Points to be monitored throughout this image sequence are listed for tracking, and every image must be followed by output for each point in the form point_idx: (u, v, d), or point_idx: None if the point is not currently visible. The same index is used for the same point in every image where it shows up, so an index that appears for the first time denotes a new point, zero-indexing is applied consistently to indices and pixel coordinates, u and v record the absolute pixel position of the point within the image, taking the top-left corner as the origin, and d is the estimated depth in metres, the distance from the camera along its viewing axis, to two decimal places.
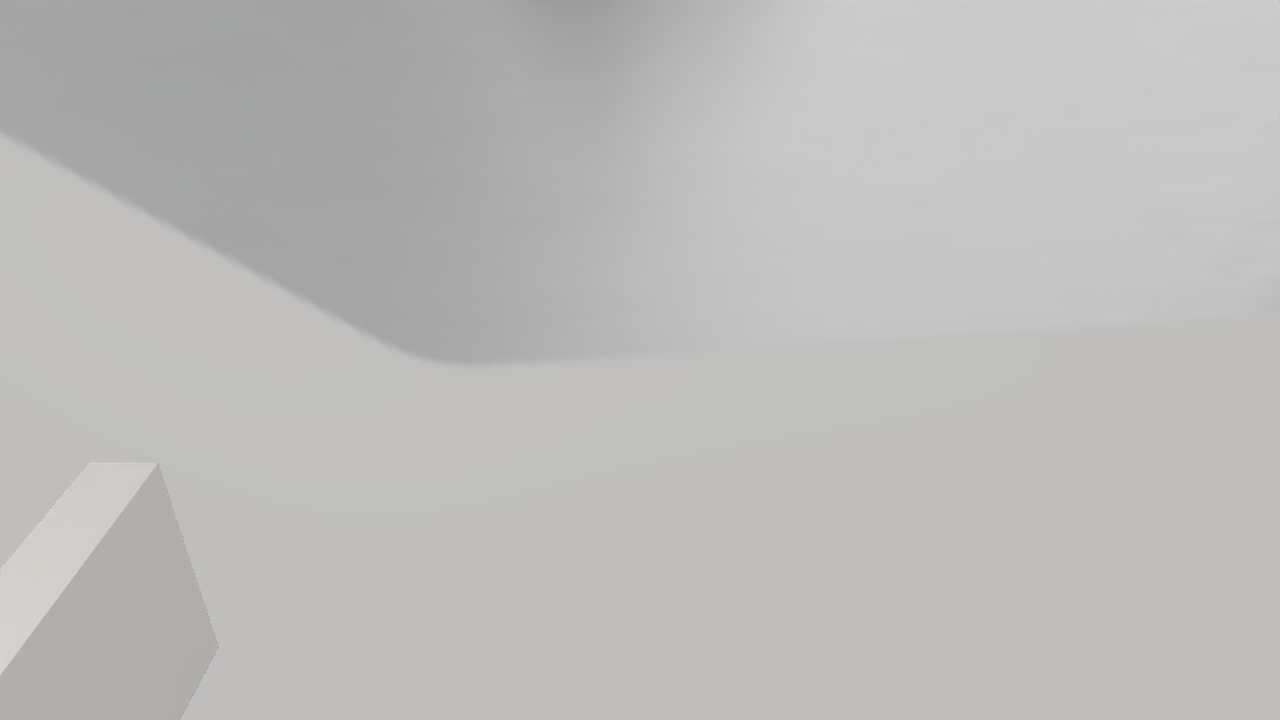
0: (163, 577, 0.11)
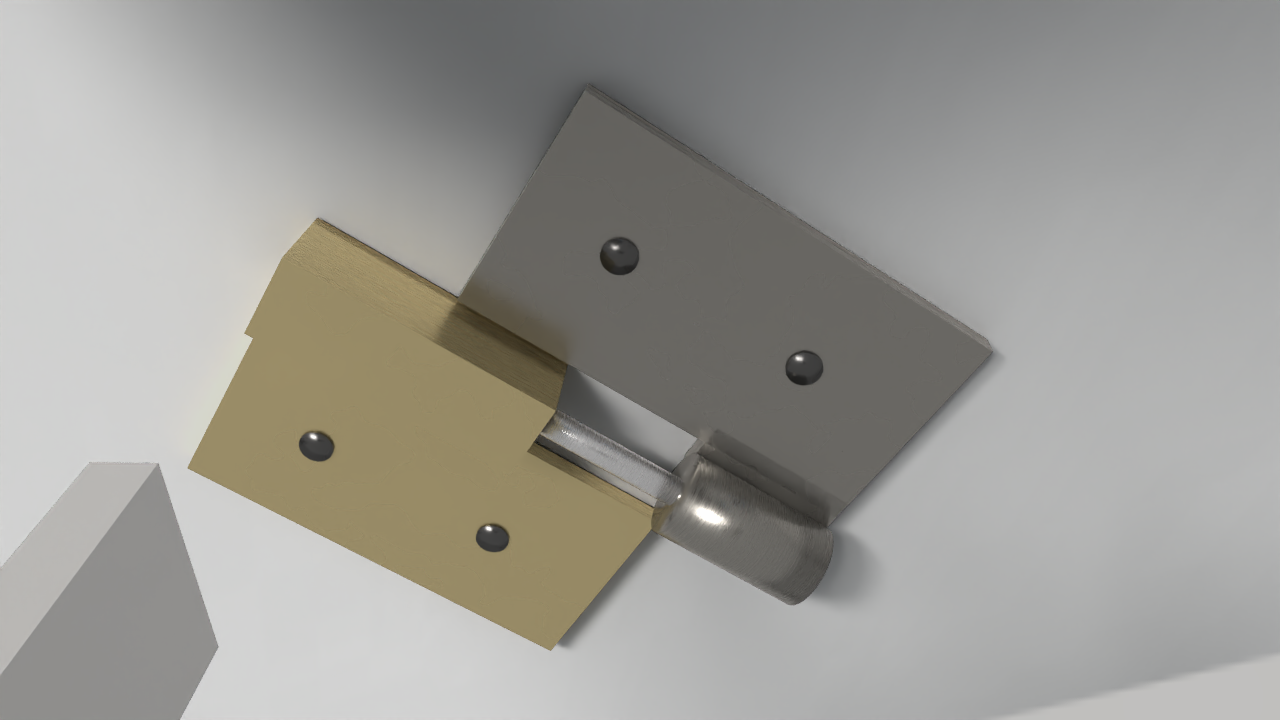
0: (163, 577, 0.11)
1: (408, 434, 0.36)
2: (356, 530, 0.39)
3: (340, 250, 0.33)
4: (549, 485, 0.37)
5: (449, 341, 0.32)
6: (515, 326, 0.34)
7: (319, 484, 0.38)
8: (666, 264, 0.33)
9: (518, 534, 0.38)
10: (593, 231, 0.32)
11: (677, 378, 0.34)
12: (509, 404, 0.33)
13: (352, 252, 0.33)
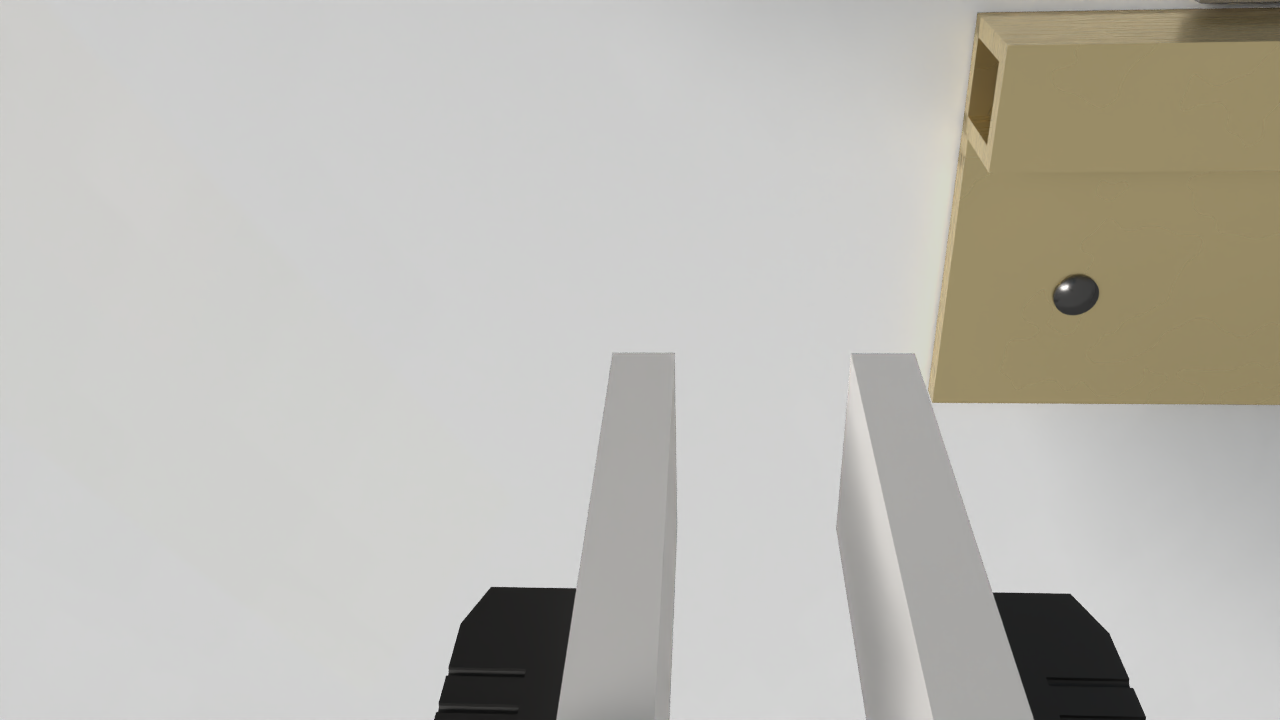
0: (674, 453, 0.13)
1: (1187, 218, 0.28)
2: (1156, 375, 0.30)
3: (1037, 22, 0.25)
4: None
5: (1247, 35, 0.24)
6: None
7: (1092, 341, 0.30)
8: None
9: None
10: None
11: None
12: None
13: (1048, 19, 0.25)
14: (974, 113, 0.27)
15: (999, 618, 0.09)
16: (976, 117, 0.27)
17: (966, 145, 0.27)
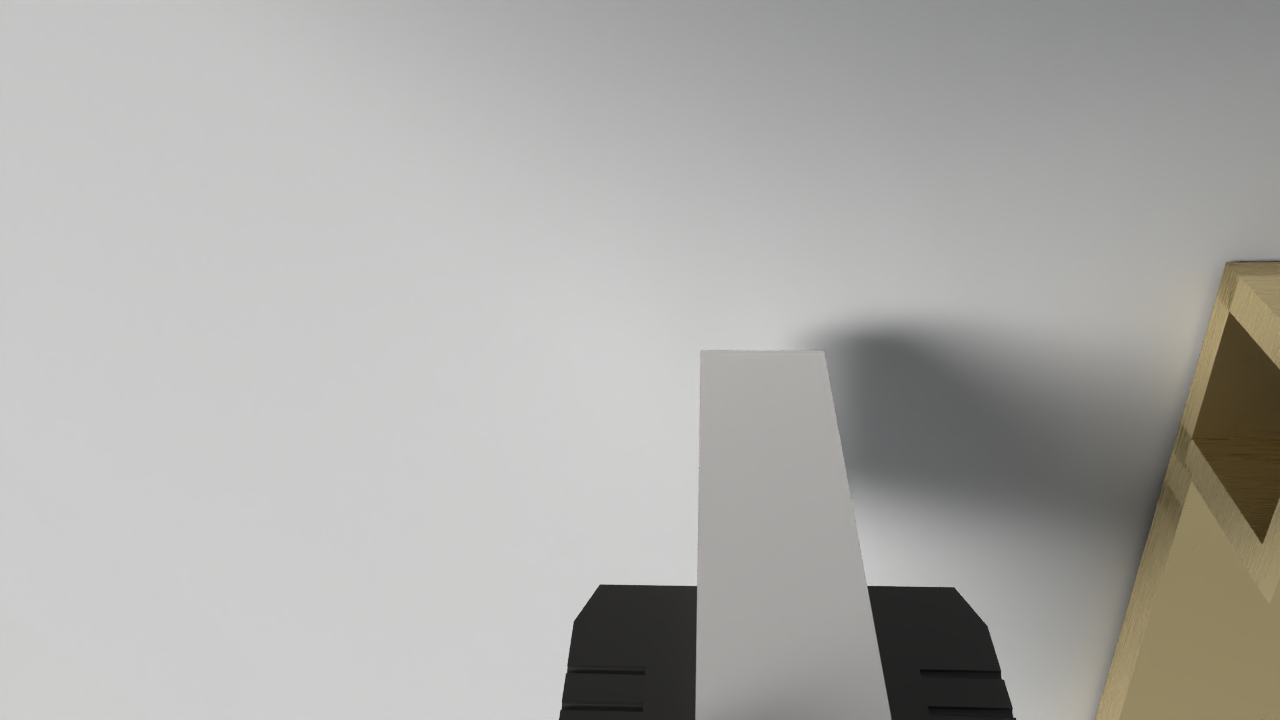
0: None
1: None
2: None
3: None
4: None
5: None
6: None
7: None
8: None
9: None
10: None
11: None
12: None
13: None
14: (1206, 436, 0.14)
15: (870, 610, 0.09)
16: (1209, 442, 0.15)
17: (1186, 488, 0.15)
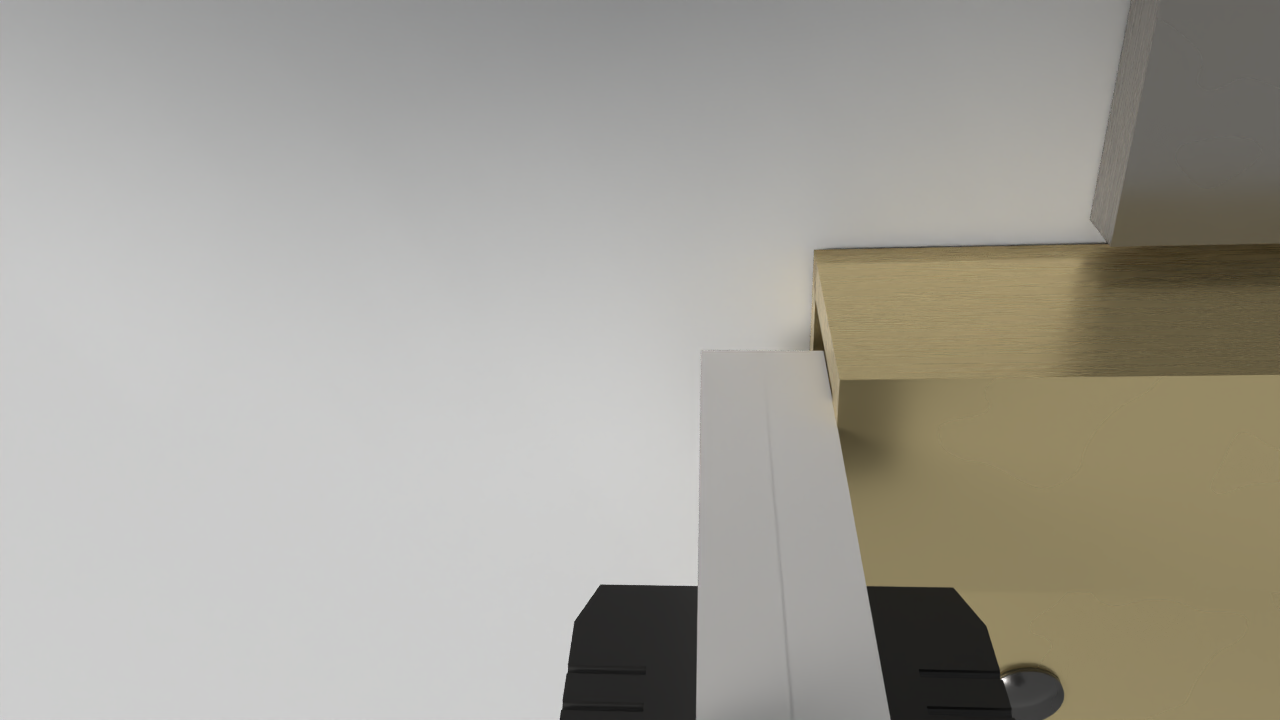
0: None
1: None
2: None
3: (920, 287, 0.13)
4: None
5: None
6: None
7: None
8: None
9: None
10: None
11: None
12: None
13: (943, 277, 0.13)
14: None
15: (869, 610, 0.09)
16: None
17: None
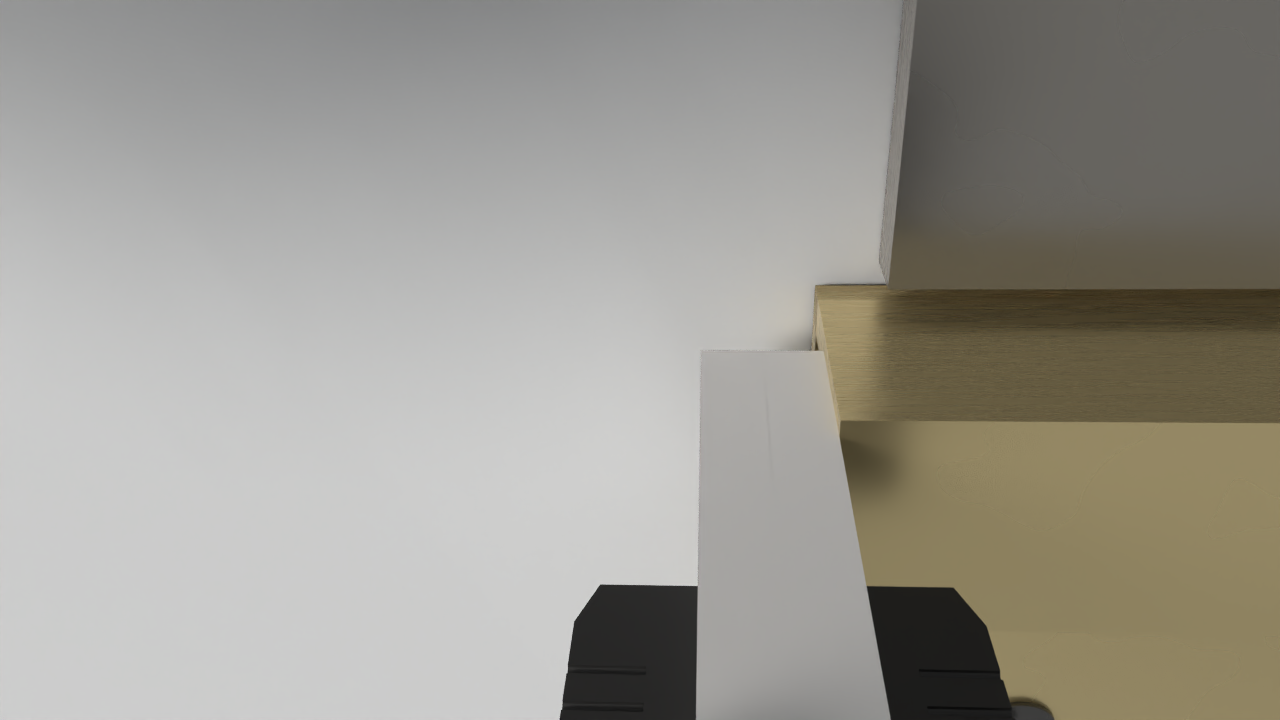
0: None
1: None
2: None
3: (920, 326, 0.13)
4: None
5: None
6: (1059, 271, 0.13)
7: None
8: None
9: None
10: None
11: None
12: None
13: (943, 315, 0.13)
14: None
15: (869, 611, 0.09)
16: None
17: None
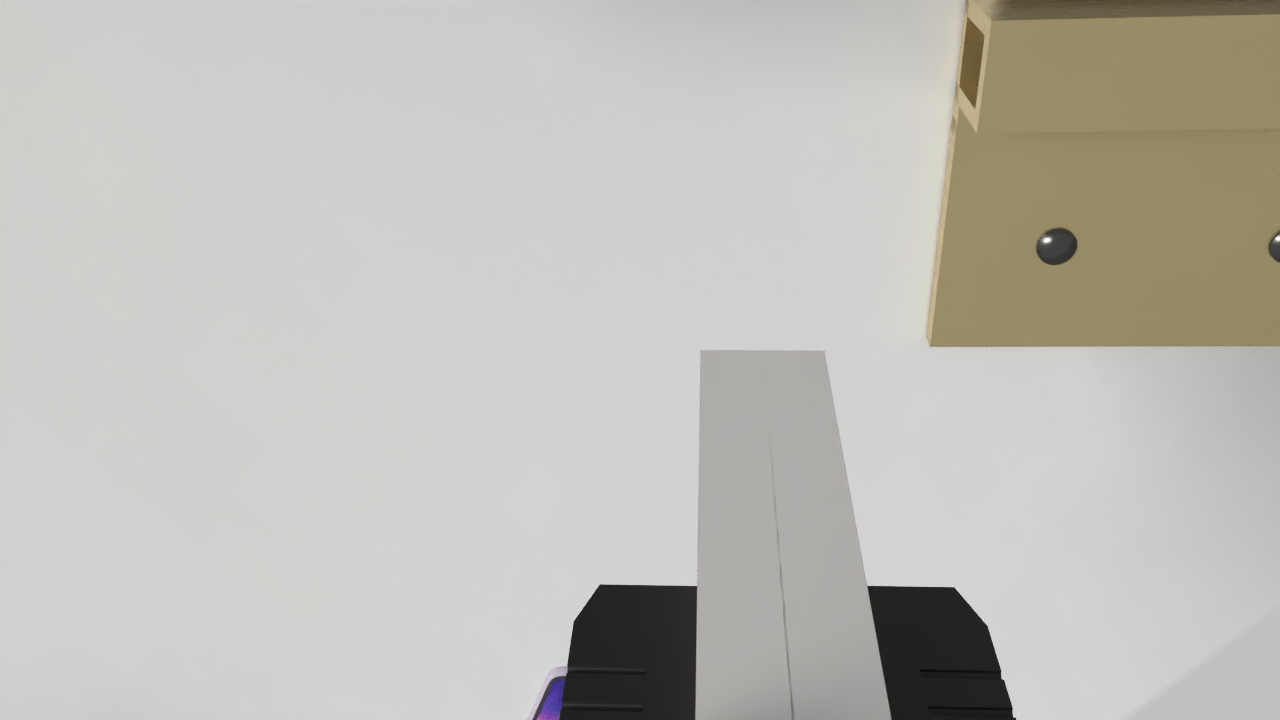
0: None
1: (1153, 176, 0.32)
2: (1129, 319, 0.34)
3: (1018, 2, 0.29)
4: None
5: (1199, 11, 0.27)
6: None
7: (1072, 289, 0.34)
8: None
9: None
10: None
11: None
12: None
13: None
14: (964, 83, 0.31)
15: (870, 610, 0.09)
16: (966, 87, 0.31)
17: (958, 112, 0.31)
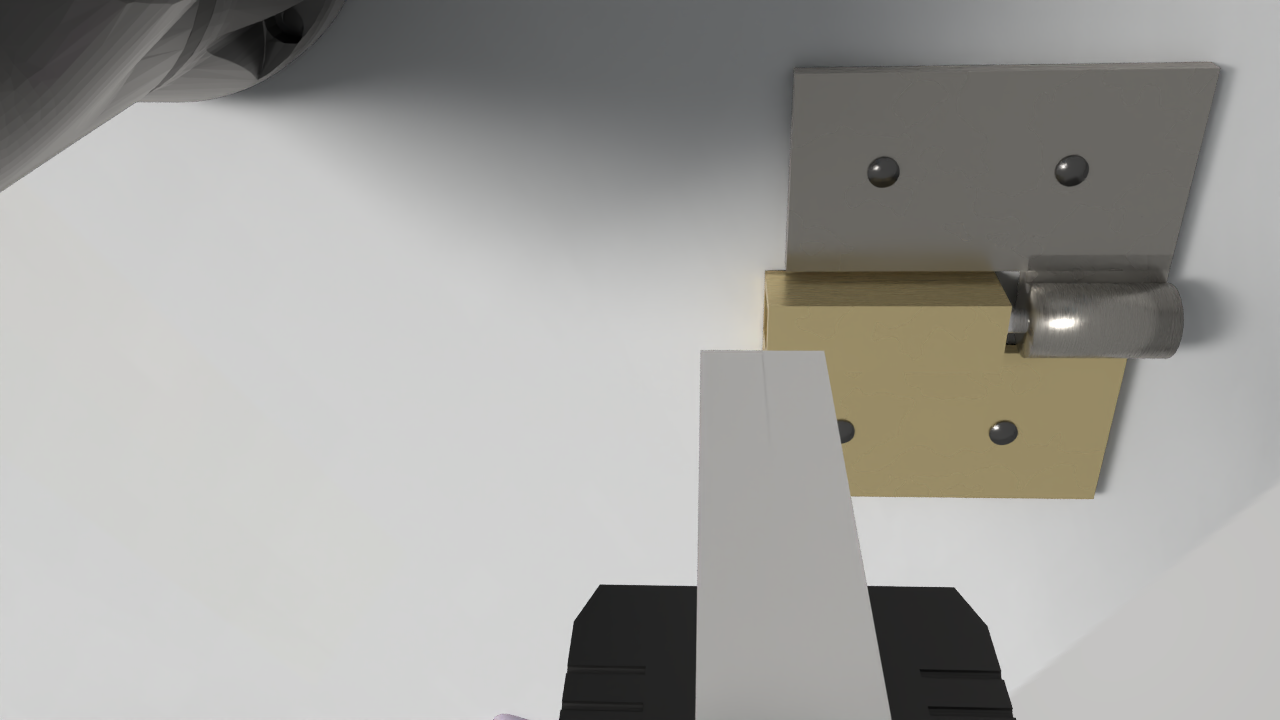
0: None
1: (902, 388, 0.45)
2: (898, 479, 0.48)
3: (795, 282, 0.42)
4: (1027, 369, 0.44)
5: (907, 300, 0.41)
6: (836, 266, 0.42)
7: (855, 459, 0.47)
8: (920, 157, 0.40)
9: (1022, 419, 0.46)
10: (854, 166, 0.40)
11: (977, 235, 0.41)
12: (974, 320, 0.41)
13: (803, 279, 0.43)
14: (767, 327, 0.44)
15: (870, 610, 0.09)
16: None
17: (763, 345, 0.45)
